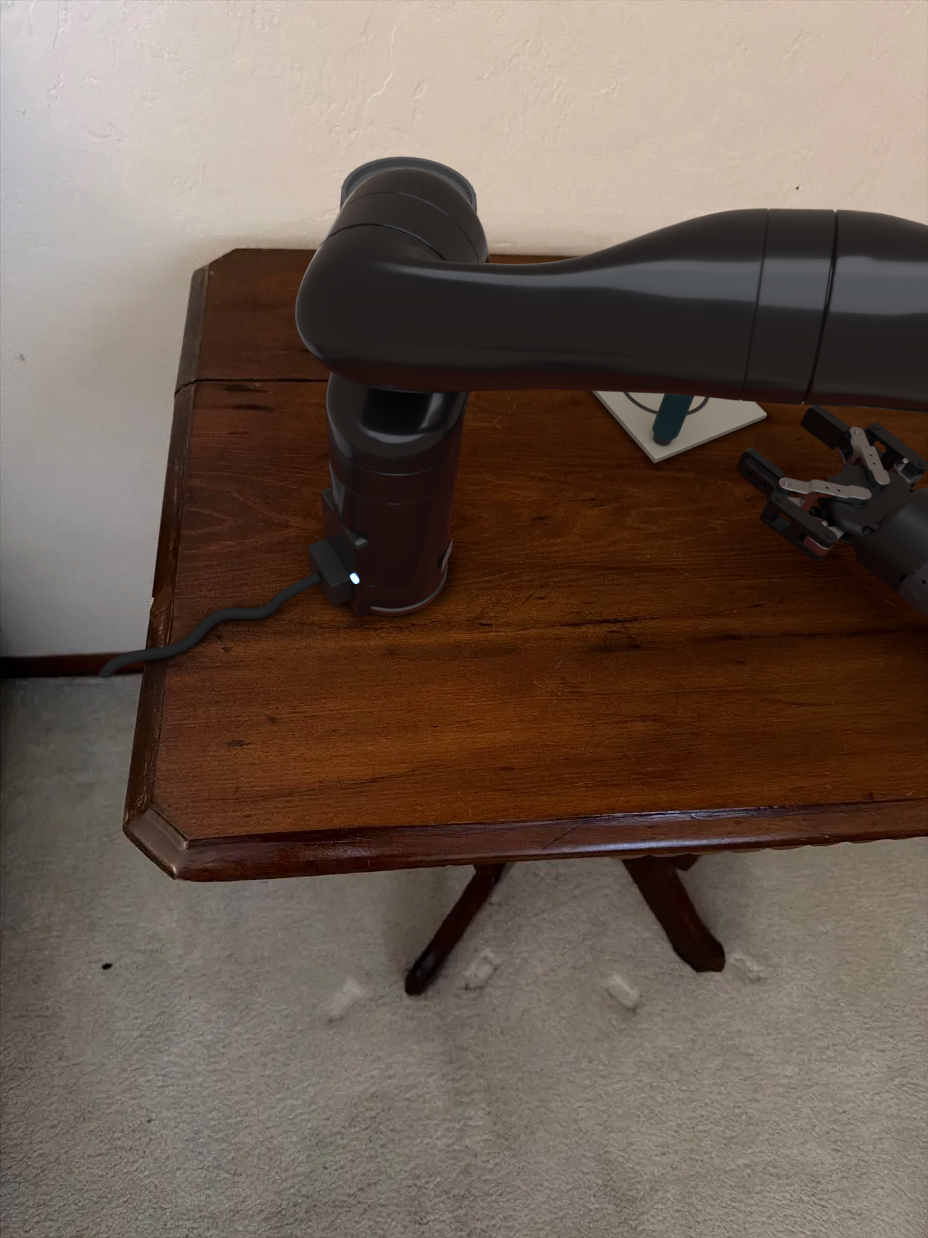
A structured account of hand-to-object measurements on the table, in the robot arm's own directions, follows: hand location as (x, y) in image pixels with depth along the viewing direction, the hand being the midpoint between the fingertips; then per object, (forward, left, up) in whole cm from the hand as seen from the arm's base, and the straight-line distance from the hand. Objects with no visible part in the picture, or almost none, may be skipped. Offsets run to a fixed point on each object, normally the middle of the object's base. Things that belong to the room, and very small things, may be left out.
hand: (775, 434), depth 73 cm
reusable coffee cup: (-17, +34, -10) cm, 39 cm away
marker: (-2, +10, -9) cm, 13 cm away
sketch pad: (+3, +16, -9) cm, 19 cm away
